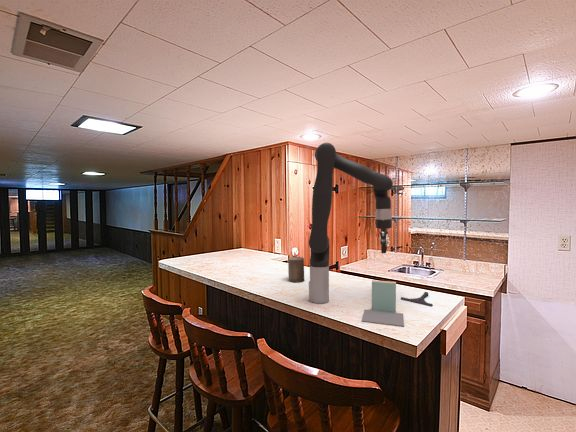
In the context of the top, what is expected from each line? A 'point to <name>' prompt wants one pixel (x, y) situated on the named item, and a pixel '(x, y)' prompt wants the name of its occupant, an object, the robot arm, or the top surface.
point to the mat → (383, 318)
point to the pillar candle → (296, 269)
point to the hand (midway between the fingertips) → (384, 251)
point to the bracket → (419, 300)
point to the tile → (384, 296)
